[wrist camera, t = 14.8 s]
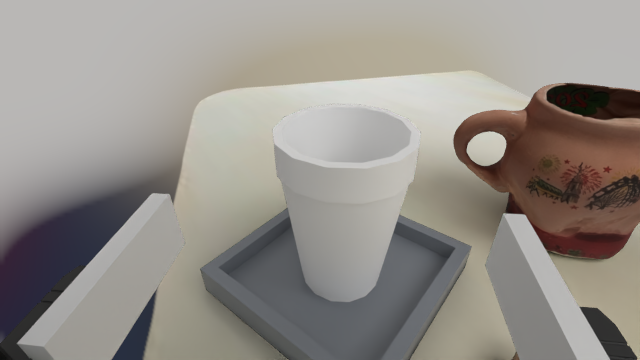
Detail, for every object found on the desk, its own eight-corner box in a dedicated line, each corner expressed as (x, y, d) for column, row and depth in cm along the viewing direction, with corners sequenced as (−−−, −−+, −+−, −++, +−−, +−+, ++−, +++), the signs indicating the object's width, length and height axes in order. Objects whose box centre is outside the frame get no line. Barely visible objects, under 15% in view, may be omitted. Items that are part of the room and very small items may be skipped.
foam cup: (265, 260, 30) (247, 123, 23) (347, 220, 35) (354, 95, 28) (329, 343, 24) (332, 188, 17) (421, 282, 28) (454, 138, 21)
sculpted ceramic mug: (445, 259, 32) (484, 117, 24) (431, 185, 42) (456, 69, 34) (694, 288, 29) (828, 137, 21) (615, 201, 39) (686, 78, 31)
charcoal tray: (324, 200, 39) (324, 182, 38) (465, 266, 31) (471, 246, 29) (206, 289, 29) (200, 268, 27) (368, 427, 20) (372, 407, 19)
